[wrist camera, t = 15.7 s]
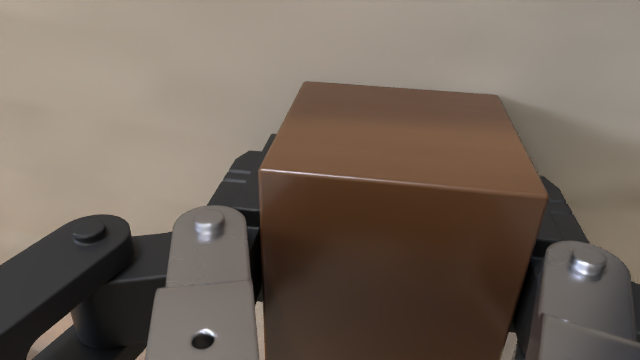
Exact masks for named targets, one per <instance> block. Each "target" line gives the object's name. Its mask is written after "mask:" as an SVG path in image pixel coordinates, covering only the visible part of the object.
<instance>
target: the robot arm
mask: <svg viewBox="0 0 640 360" xmlns="http://www.w3.org/2000/svg"><path fill="white" fill-rule="evenodd" d="M276 135H277V134H271V136H270V137H269V139H268V141H267V143H266V145H265V147H264V149H263V150H262V152H260V151H248V152H247V153H245V154H243V155H242V156H240V157H238V158H237V159H235V161H234V163H233V164H232V166H231V168H230V169H229V172H227V174H226V176H225V177H224V179H223V181H222V182H221V184H220V185H219V187H218V188H217V190H216V192H215V193H214V195H213V196H212V198H211V200H210V201H209V203H208V204H207V206H203V207H198V208H195V209H192V210H190V211H188V212H186V213H184V214H183V215H181V216H180V217H179V218H178V219H177V220H176V222H175V223H174V226H173V231H172V232H168V233H162V234H153V235H143V236H133V237H132V236H131V231H130V226H129V224H128V223H127V222H126V221H125V220H124V219H122V218H120V217H118V216H113V215H91V216H86V217H82V218H79V219H76V220H73V221H71V222H69V223H67V224H65V225H63V226H62V227H60V228H59V229H57V230H55V231H54V232H52V233H51V234H49V235H47V236H46V237H44V238H43V239H41V240H40V241H38V242H36V243H35V244H33V245H32V246H30V247H28V248H27V249H25V250H24V251H22V252H21V253H19V254H17V255H16V256H14V257H13V258H11V259H10V260H8V261H6V262H5V263H3V264H2V265H0V360H26V357H27V354H28V352H29V350H30V348H31V346H32V345H33V343H34V342H35V341H36V340H37V339H38V338H39V337H40V336H41V335H42V334H43V333H45V332H46V331H47V330H48V329H50V328H51V327H52V326H53V325H55V324H56V323H57V322H58V321H59V320H61V319H62V318H63V317H64V316H66V315H67V314H68V313H69V312H71V315H72V319H73V322H74V324H73V325H72V326H71V327H70V328H68V329H67V330H66V331H65V332H64V333H63V334H61V335H60V336H59V337H58V338H57V339H55V340H54V341H53V342H52V343H51V344H50V345H48V346H47V347H46V348H45V349H44V350H42V351H41V352H40V353H39V354H38V355H37V356H35V357H34V358H33V359H32V360H135V359H136V358H137V357H138V356H139V355H140V354H141V353H142V352H143V350H144V349H145V348H146V346H147V349H146V355H145V360H259V349H258V338H257V327H256V316H255V304H256V302H257V301H260V302H263V290H262V263H261V237H260V210H259V183H258V170H259V168H260V166H261V164H262V162H263V160H264V158H265V156H266V154H267V152H268V150H269V148H270V146H271V145H272V143H273V141H274V139H275V137H276ZM539 177H540V179H541V181H542V183H543V185H544V187H545V189H546V191H547V193H548V195H549V200H548V203H547V206H546V210H545V213H544V216H543V220H542V223H541V226H540V230H539V233H538V236H537V239H536V243H535V246H534V249H533V253H532V256H531V259H530V263H529V266H528V269H527V273H526V276H525V279H524V283H523V286H522V289H521V293H520V296H519V299H518V302H517V306H516V309H515V312H514V316H513V319H512V322H511V326H510V329H509V332H514V333H516V335H517V339H518V341H517V344H516V347H515V351H514V354H513V357H512V360H640V285H639V284H636V283H634V282H632V281H631V276H630V272H629V270H628V268H627V266H626V265H625V264H624V263H623V262H622V261H621V260H620V259H619V258H617V257H616V256H615V255H613V254H612V253H610V252H608V251H606V250H604V249H602V248H600V247H597V246H595V245H592V244H590V243H589V241H588V240H587V238H586V236H585V234H584V233H583V231H582V229H581V227H580V225H579V224H578V222H577V220H576V218H575V216H574V215H572V211H571V209H570V208H569V206H568V204H566V200H565V199H564V197H563V195H562V193H561V191H560V190H559V188H557V187H556V186H555V185H554V184H552V183H551V182H550V181H548V180H547V179H546V178H545V177H542V176H539Z"/></svg>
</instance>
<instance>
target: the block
mask: <svg viewBox="0 0 640 360" xmlns="http://www.w3.org/2000/svg"><path fill="white" fill-rule="evenodd" d="M258 183H259V210H260V237H261V263H262V290H263V316H264V343H265V360H500V359H501V355H502V352H503V349H504V346H505V342H506V339H507V336H508V332H509V329H510V326H511V322H512V319H513V316H514V312H515V309H516V306H517V302H518V299H519V296H520V293H521V289H522V286H523V283H524V279H525V276H526V273H527V269H528V266H529V263H530V259H531V256H532V253H533V249H534V246H535V243H536V239H537V236H538V233H539V230H540V226H541V223H542V220H543V216H544V213H545V210H546V206H547V203H548V200H549V195H548V193H547V191H546V189H545V187H544V185H543V183H542V181H541V179H540V177H539V175H538V173H537V171H536V169H535V167H534V165H533V163H532V161H531V159H530V158H529V156H528V154H527V152H526V150H525V148H524V146H523V144H522V142H521V140H520V138H519V136H518V134H517V132H516V130H515V128H514V126H513V124H512V122H511V120H510V118H509V117H508V115H507V113H506V111H505V109H504V107H503V105H502V103H501V101H500V99H499V97H498V96H497V95H488V94H474V93H460V92H446V91H432V90H418V89H404V88H390V87H377V86H363V85H349V84H335V83H321V82H307V81H306V82H304V83H303V85H302V86H301V88H300V90H299V92H298V94H297V96H296V98H295V100H294V102H293V104H292V106H291V108H290V110H289V112H288V114H287V116H286V117H285V119H284V121H283V123H282V125H281V127H280V129H279V131H278V133H277V135H276V137H275V139H274V141H273V143H272V145H271V146H270V148H269V150H268V152H267V154H266V156H265V158H264V160H263V162H262V164H261V166H260V168H259V170H258Z"/></svg>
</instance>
